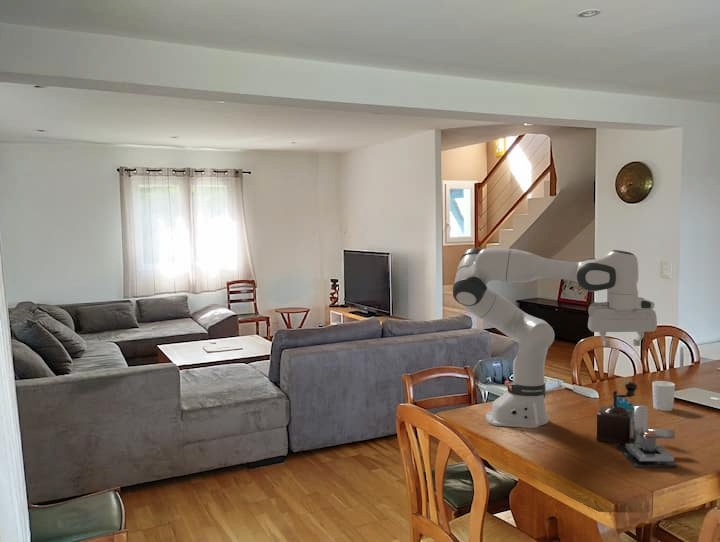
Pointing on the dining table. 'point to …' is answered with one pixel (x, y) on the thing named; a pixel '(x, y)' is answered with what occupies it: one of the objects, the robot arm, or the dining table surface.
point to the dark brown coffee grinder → (616, 420)
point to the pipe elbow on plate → (636, 449)
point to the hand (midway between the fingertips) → (621, 345)
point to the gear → (625, 404)
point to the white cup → (663, 395)
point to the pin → (649, 442)
